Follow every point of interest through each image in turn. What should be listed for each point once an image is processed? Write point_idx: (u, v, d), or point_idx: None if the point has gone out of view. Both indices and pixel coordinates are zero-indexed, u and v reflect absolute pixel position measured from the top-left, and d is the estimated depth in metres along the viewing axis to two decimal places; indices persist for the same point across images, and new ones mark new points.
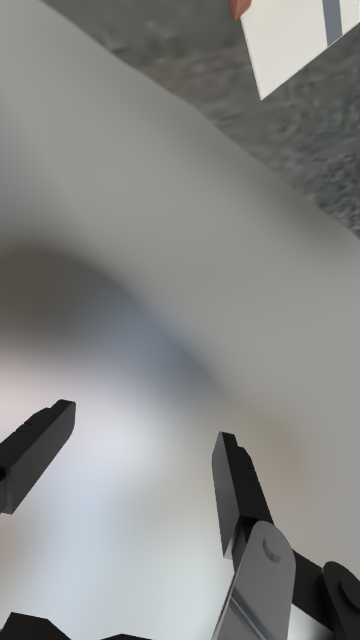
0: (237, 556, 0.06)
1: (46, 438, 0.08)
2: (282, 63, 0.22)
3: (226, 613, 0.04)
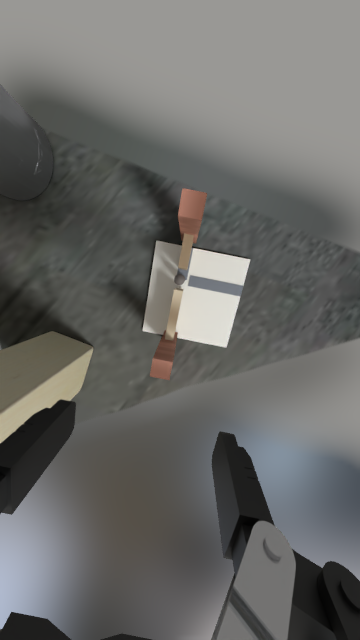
0: (237, 556, 0.06)
1: (46, 438, 0.08)
2: (220, 326, 0.25)
3: (226, 613, 0.04)
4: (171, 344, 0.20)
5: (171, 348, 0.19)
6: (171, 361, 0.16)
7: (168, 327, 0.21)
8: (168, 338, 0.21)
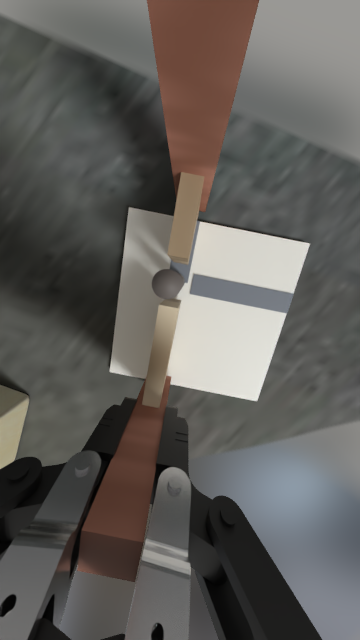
0: (153, 498, 0.07)
1: None
2: (248, 365, 0.14)
3: (140, 567, 0.04)
4: (154, 423, 0.09)
5: (150, 443, 0.08)
6: (139, 535, 0.05)
7: (149, 382, 0.10)
8: (149, 403, 0.10)
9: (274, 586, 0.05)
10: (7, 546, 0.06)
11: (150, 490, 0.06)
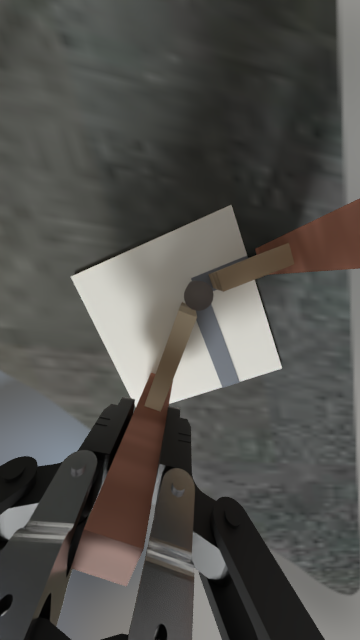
0: (157, 499, 0.07)
1: (122, 430, 0.09)
2: None
3: (144, 567, 0.04)
4: (156, 427, 0.09)
5: (152, 448, 0.08)
6: (140, 541, 0.05)
7: (155, 385, 0.10)
8: (152, 406, 0.10)
9: (278, 589, 0.05)
10: (3, 546, 0.06)
11: (151, 496, 0.06)
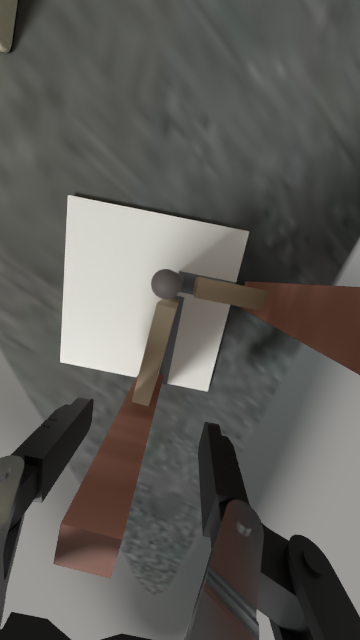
0: (214, 533, 0.07)
1: (69, 432, 0.08)
2: (96, 352, 0.14)
3: (203, 592, 0.04)
4: (142, 421, 0.09)
5: (137, 441, 0.08)
6: (119, 532, 0.05)
7: (140, 380, 0.10)
8: (139, 401, 0.10)
9: None
10: None
11: (133, 488, 0.06)
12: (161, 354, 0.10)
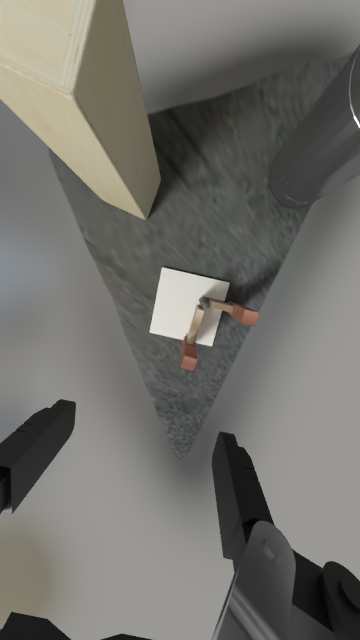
0: (237, 556, 0.06)
1: (46, 438, 0.08)
2: (166, 328, 0.34)
3: (226, 613, 0.04)
4: (192, 347, 0.29)
5: (193, 350, 0.28)
6: (196, 359, 0.25)
7: (190, 335, 0.30)
8: (189, 342, 0.30)
9: None
10: None
11: (196, 355, 0.26)
12: (198, 326, 0.29)
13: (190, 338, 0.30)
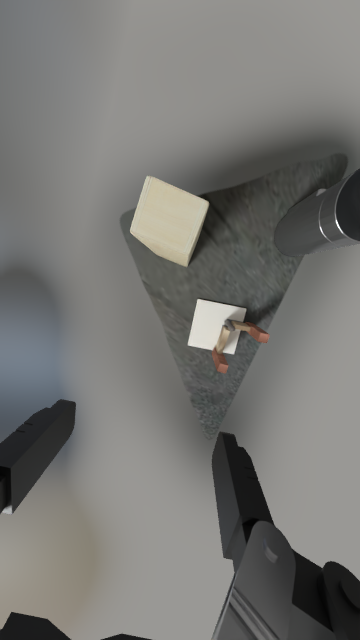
0: (237, 556, 0.06)
1: (46, 438, 0.08)
2: (200, 341, 0.46)
3: (226, 613, 0.04)
4: (222, 356, 0.41)
5: (223, 358, 0.40)
6: (227, 365, 0.37)
7: (220, 347, 0.42)
8: (219, 353, 0.42)
9: None
10: None
11: (226, 362, 0.39)
12: (226, 341, 0.42)
13: (220, 350, 0.42)
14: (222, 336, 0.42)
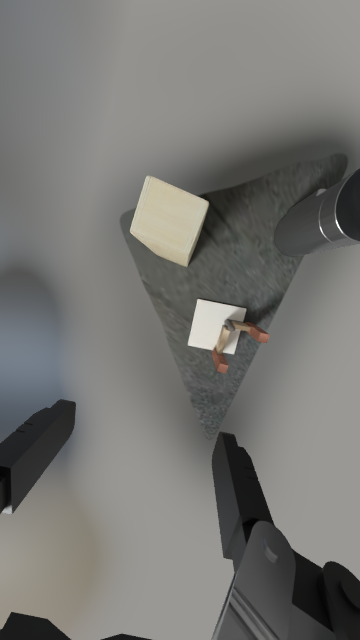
0: (237, 556, 0.06)
1: (46, 438, 0.08)
2: (200, 341, 0.46)
3: (226, 613, 0.04)
4: (222, 356, 0.41)
5: (223, 358, 0.40)
6: (227, 365, 0.37)
7: (220, 347, 0.42)
8: (219, 353, 0.42)
9: None
10: None
11: (226, 362, 0.39)
12: (226, 341, 0.42)
13: (220, 350, 0.42)
14: (222, 336, 0.42)
